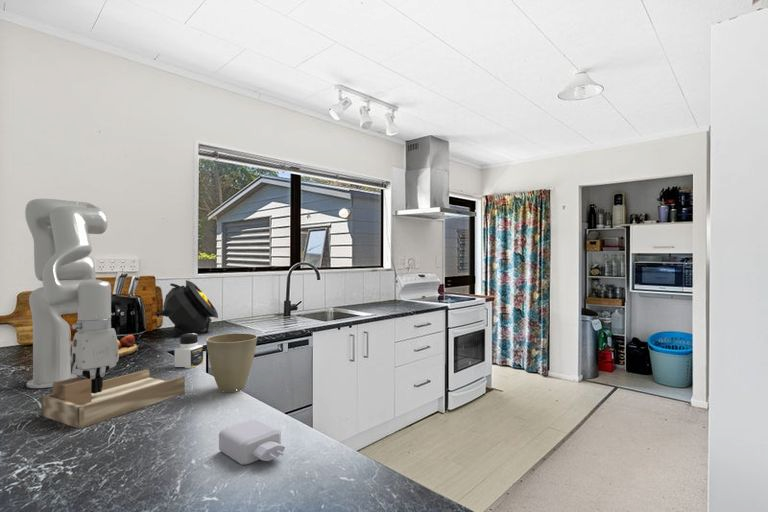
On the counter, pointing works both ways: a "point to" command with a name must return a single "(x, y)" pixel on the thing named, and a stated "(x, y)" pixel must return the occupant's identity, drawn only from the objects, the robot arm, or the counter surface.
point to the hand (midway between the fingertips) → (95, 392)
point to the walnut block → (73, 390)
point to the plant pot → (231, 359)
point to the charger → (251, 442)
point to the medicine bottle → (189, 351)
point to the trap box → (113, 399)
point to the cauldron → (188, 308)
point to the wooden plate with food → (123, 345)
